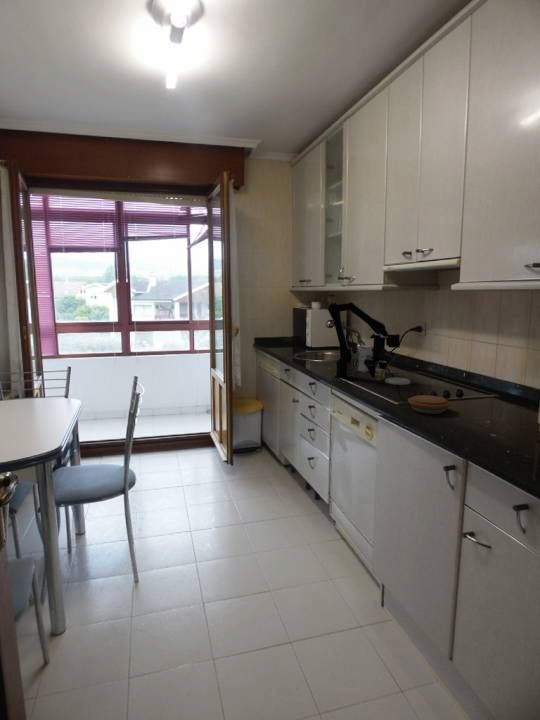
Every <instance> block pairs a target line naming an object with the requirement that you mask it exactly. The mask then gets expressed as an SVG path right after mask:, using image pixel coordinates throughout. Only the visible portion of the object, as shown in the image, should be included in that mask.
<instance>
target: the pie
mask: <svg viewBox="0 0 540 720" xmlns="http://www.w3.org/2000/svg"><path fill="white" fill-rule="evenodd" d="M407 402H408V404H409V405H410V406H411V408H412V410H413V411H415V412H417V413H420V414H427V415H437V414H438V415H440V414H443V413H445V411H446V410H447V408H448V407H450V405H451V402H450V401H449V400H447V399H446V398H444V397H441V396H436V395H425V394H422V395H421V394H419V395H414V396H411V397H409V398H408V399H407Z"/></svg>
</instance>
